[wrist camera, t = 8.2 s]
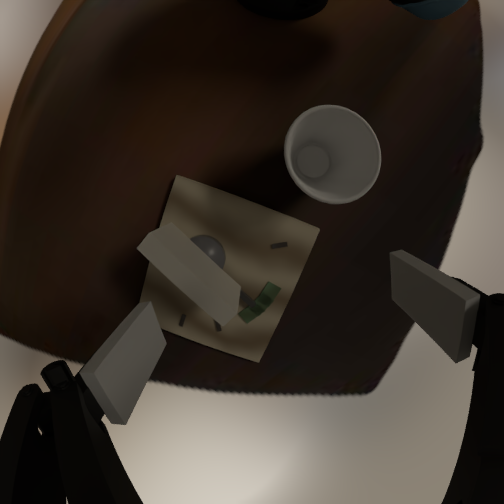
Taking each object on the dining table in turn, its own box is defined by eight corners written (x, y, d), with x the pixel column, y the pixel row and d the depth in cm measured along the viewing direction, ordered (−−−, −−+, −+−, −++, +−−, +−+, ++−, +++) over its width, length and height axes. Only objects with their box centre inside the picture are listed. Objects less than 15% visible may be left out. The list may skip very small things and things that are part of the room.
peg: (157, 242, 37) (126, 261, 27) (185, 209, 36) (160, 218, 26) (239, 316, 39) (234, 356, 30) (269, 288, 38) (274, 322, 29)
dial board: (178, 175, 36) (176, 175, 35) (317, 227, 38) (320, 229, 36) (138, 314, 41) (135, 318, 39) (258, 358, 42) (258, 363, 41)
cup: (317, 213, 37) (341, 225, 26) (260, 165, 36) (262, 157, 25) (361, 160, 35) (398, 153, 25) (306, 111, 34) (326, 85, 23)
